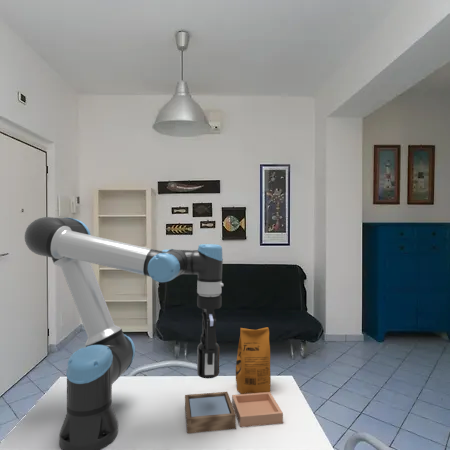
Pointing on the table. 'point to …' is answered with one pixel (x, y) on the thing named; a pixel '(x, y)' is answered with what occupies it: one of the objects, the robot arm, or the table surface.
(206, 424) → the wooden frame
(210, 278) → the robot arm
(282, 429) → the table surface
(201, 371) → the supplement bottle
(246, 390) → the coffee package
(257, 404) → the tray
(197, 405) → the pad
